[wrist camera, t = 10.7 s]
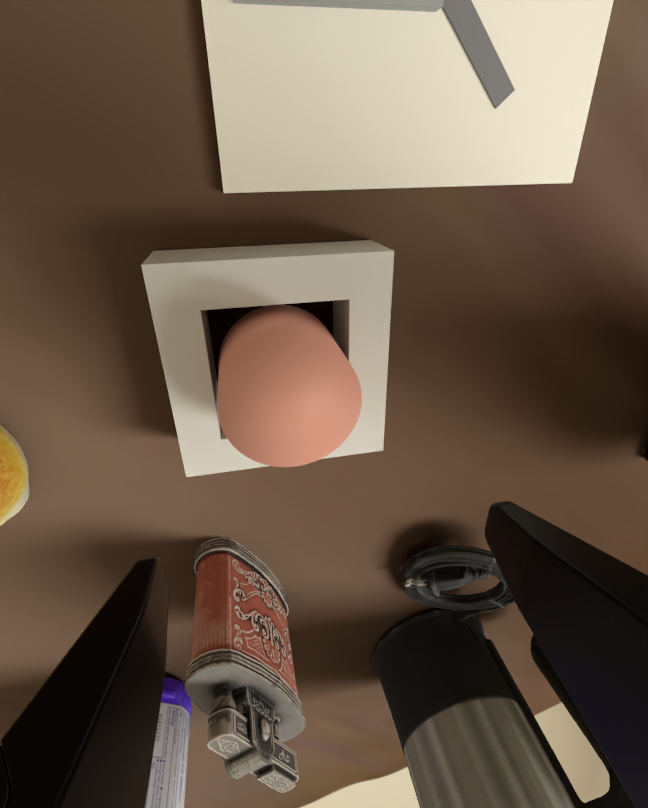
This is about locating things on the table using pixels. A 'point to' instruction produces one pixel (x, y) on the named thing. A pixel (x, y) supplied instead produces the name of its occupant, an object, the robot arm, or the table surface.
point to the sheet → (400, 91)
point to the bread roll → (12, 477)
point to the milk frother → (471, 698)
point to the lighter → (244, 664)
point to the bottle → (170, 748)
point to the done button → (285, 388)
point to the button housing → (259, 286)
